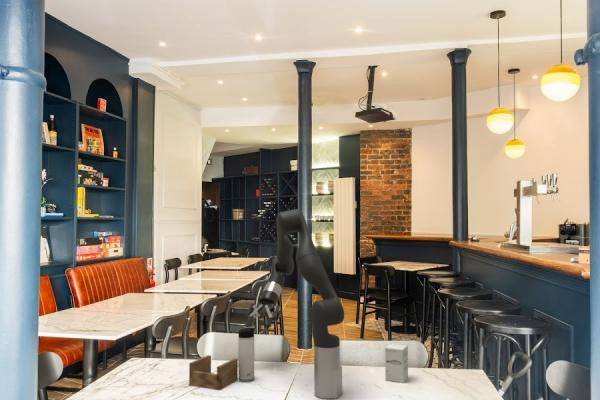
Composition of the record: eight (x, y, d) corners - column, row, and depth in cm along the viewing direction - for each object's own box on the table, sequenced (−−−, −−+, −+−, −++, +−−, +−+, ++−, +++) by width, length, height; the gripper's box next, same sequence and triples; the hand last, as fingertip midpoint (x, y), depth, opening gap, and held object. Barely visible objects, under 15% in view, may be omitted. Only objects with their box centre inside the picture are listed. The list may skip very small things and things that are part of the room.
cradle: (237, 380, 180) (237, 358, 180) (220, 390, 169) (220, 367, 169) (208, 375, 186) (208, 355, 186) (189, 385, 175) (189, 363, 175)
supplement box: (384, 380, 177) (384, 347, 178) (390, 375, 184) (389, 343, 185) (403, 383, 174) (403, 349, 175) (408, 377, 181) (408, 345, 181)
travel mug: (252, 382, 177) (252, 329, 178) (236, 381, 178) (236, 329, 179) (257, 377, 183) (257, 326, 184) (241, 376, 184) (241, 326, 185)
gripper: (253, 288, 201) (239, 320, 190) (282, 290, 195) (269, 322, 184) (259, 299, 206) (246, 330, 195) (288, 301, 200) (276, 333, 189)
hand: (257, 326), depth 189 cm, fingers open, 8 cm apart
